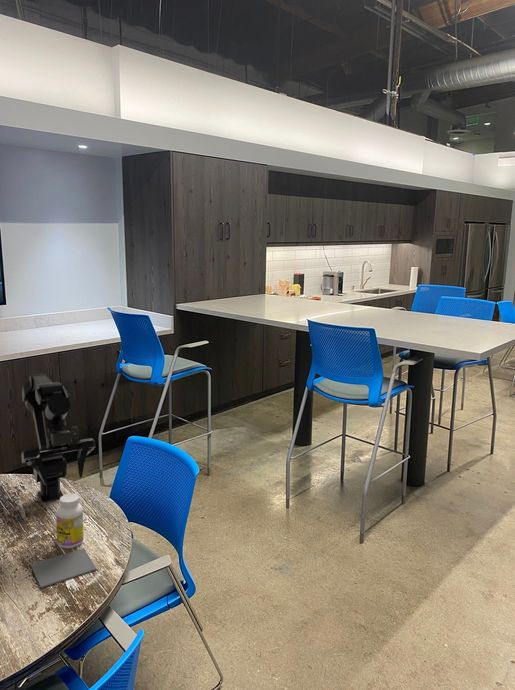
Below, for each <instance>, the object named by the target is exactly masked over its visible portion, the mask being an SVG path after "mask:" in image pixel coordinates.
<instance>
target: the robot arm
mask: <svg viewBox="0 0 515 690" xmlns="http://www.w3.org/2000/svg"><path fill="white" fill-rule="evenodd" d="M21 398H22V402H24V403H25V404H24V405H25V408H26V410H28V411H29V412H30V413H31V414H32V416H33V418H32V419H33V421H34V428H35V433H36V437H37V443H38V446H34V447H28V448H27V447H26V448H24V449H23V451H22V452H21V457H20V459H21V464H27V466H31V467H32V468H33V477H34V480H35V481H36V483H39V486H40V487H39V489H40V490H39V491H37V492H36V493H37V496H38V497H39V500H40V501H41V502H42V503H45V502H49V501H52V500H57V499H60V498H61V497H62V496H63V495H65V494H64V493H63V491H62V490H61V478H66V476H67V469H68V462H67V461H66V460H67V459H66V458H65V457H63V454H65V453H70V452H71V453H72V452H75V451H77V452H78V453H77V455H76V458H77V470H78V471H77V472H78V475H79V478H80V479H81V478H82V477H83V474H84V468H85V462H86V458H87V456H88V455H89V454H90V453H91V452H92V451H94V449H95V448H96V447H97V446H96V441H95V439H94V438H92V437H89V438H84V439H79V436H80V435H79V428H78V426H71V427H69V428H68V427H67V422H66V417H67V414H68V413H69V412H70V409H71V402H70V394H69V392H68V390H67V389H66V388H65V386H64V385H63V384H62V383H61V382H52V381H51V379H50V378H49V377H48V375H47V374H45V373H39V374H31V375H29V379H28V380H27V381H26V382H25V383H24V384H23V385H22V390H21ZM76 439H79V440H78V441H77V443H74V444H72V443H73V440H76Z"/></svg>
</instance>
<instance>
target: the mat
mask: <svg viewBox="0 0 515 690" xmlns="http://www.w3.org/2000/svg"><path fill="white" fill-rule="evenodd" d="M30 567H31V570H32V572H33V574H34V576H35V579H36V582H37V583H38V586H39V587H40V589H43V588H46V587H49V586H51V585H55V584H58V583H59V584H60V583H61V582H64V581H68V580H71V579H74V578H76V577H80V576H82V575H85V574H88V573H92V572H95V571H97V570H98V568H97V566H96V564H94V562H93V560H92V558H90V556H89V554H88V553H87V551H86V548H85V547H83V548H80V549H75V550H73V551H69V552H65V553H63V554H60V555H55V556H53V557H48V558H46V559H42V560H39V561H36V562H32V563H30Z"/></svg>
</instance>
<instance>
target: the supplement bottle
mask: <svg viewBox="0 0 515 690" xmlns="http://www.w3.org/2000/svg"><path fill="white" fill-rule="evenodd" d="M79 498H80V497H79V495H78V494H76V493H66V494H64V495H63V496H62V497H61V498H59V504H60V505H59V506H58V507H57V508H56V512H55V513H56V514H55V517H56V518H55V519H56V544H57V546H59V547H60V548H63V549H73V548H77V547H78V546H79V545H81V544H82V543H83V541H84V508H83V506H82V504H81V503H79V502H80V499H79Z"/></svg>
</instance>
